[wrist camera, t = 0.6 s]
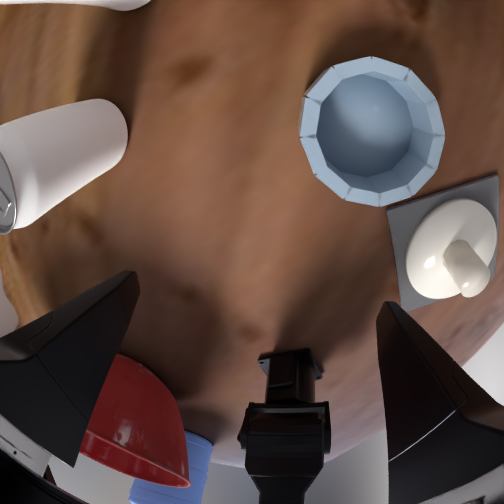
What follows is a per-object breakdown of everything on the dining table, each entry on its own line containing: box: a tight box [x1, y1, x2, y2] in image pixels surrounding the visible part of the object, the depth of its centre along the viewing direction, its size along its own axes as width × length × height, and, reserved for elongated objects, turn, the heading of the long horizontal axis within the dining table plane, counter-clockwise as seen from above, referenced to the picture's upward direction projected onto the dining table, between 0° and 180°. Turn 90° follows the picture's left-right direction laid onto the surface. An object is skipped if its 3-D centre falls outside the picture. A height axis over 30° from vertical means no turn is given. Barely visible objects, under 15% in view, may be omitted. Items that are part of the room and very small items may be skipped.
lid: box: [405, 198, 497, 299], centre depth 19 cm, size 10×10×5 cm
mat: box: [386, 174, 499, 312], centre depth 21 cm, size 12×12×1 cm
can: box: [0, 99, 128, 235], centre depth 15 cm, size 6×6×12 cm
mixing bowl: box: [79, 353, 191, 488], centre depth 34 cm, size 28×28×15 cm
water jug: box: [129, 430, 213, 504], centre depth 43 cm, size 16×16×28 cm
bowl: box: [297, 56, 445, 207], centre depth 16 cm, size 9×9×4 cm
